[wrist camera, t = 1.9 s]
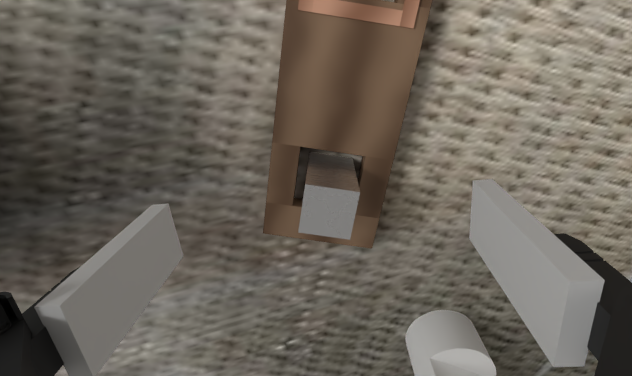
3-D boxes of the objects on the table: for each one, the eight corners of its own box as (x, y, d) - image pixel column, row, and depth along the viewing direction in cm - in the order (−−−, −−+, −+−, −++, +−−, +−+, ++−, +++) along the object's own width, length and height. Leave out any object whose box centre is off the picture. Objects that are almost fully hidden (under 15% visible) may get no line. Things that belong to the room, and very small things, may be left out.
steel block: (304, 191, 39) (298, 232, 30) (309, 151, 37) (305, 184, 29) (344, 196, 39) (350, 239, 30) (352, 158, 37) (360, 192, 29)
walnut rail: (266, 224, 40) (262, 234, 38) (305, -163, 27) (304, -179, 25) (369, 238, 41) (372, 249, 39) (458, -136, 28) (469, -150, 26)
